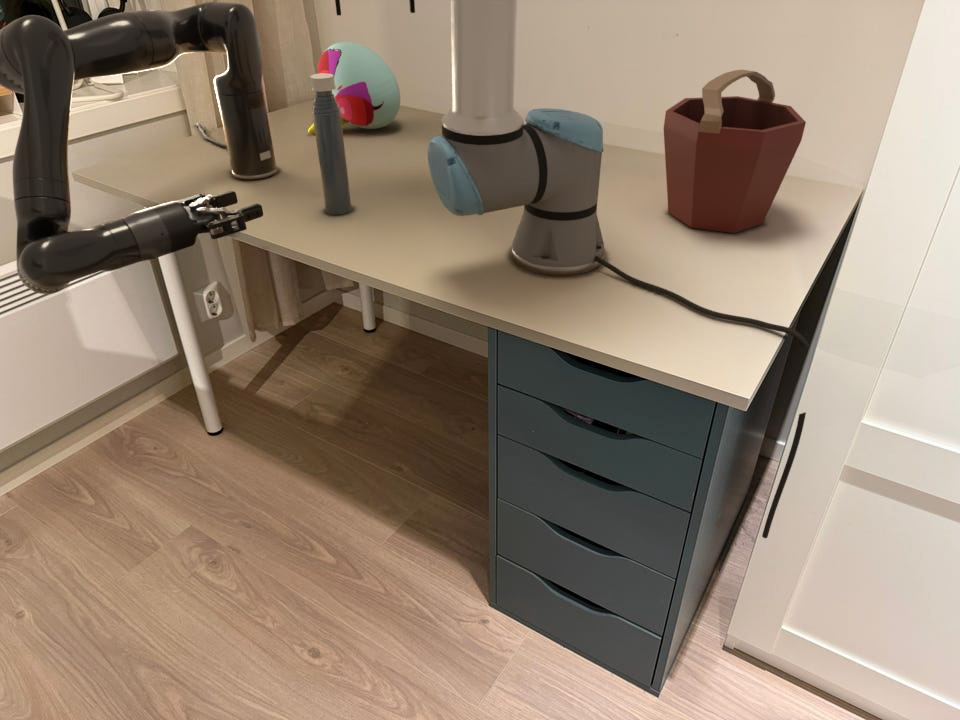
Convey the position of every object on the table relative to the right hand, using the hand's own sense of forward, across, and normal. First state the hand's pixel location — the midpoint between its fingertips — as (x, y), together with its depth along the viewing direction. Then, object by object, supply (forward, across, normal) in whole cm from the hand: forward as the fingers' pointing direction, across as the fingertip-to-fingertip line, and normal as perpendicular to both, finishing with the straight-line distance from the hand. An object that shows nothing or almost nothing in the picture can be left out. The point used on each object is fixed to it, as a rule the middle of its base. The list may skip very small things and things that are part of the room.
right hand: (376, 13), depth 131 cm
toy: (+32, +7, -39) cm, 51 cm away
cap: (+8, +10, +15) cm, 20 cm away
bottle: (+32, +10, +15) cm, 37 cm away
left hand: (+25, +25, +26) cm, 44 cm away
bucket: (+32, -59, +30) cm, 73 cm away
